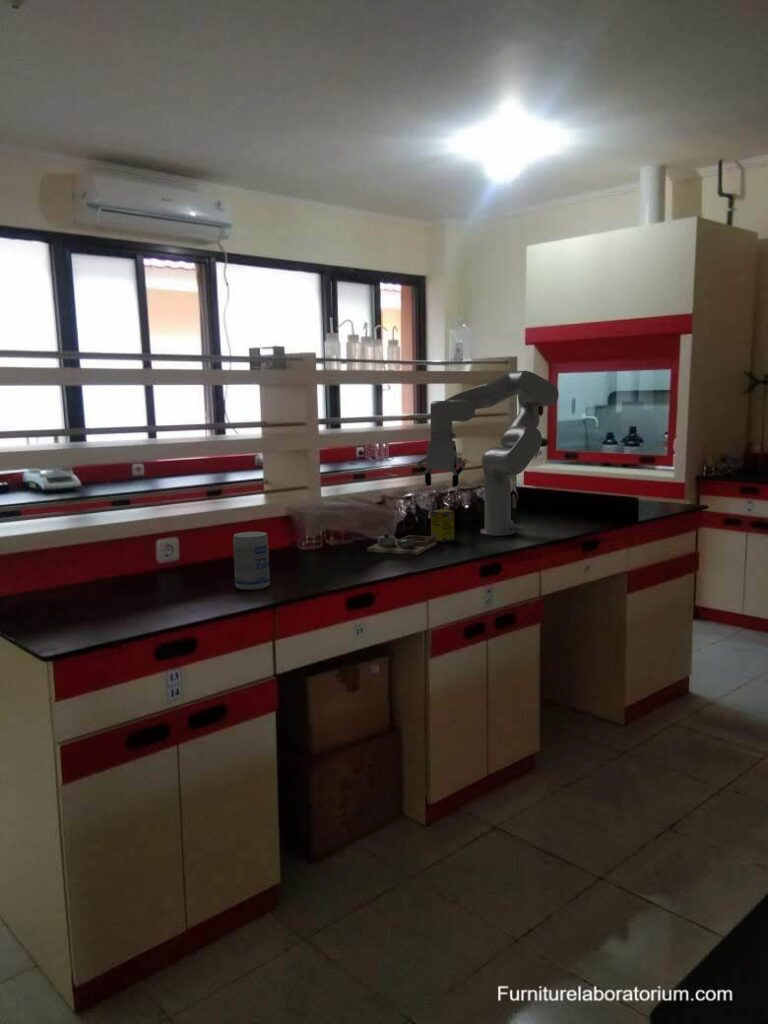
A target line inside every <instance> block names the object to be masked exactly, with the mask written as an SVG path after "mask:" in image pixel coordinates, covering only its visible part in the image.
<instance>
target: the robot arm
mask: <svg viewBox="0 0 768 1024" xmlns="http://www.w3.org/2000/svg"><path fill="white" fill-rule="evenodd" d="M513 396H517V401H518V409H519V410H518V413H517V415H516V417H515V419H514V420H513V421H512V422H511V424H510V425H509V426H508V427H507V428H506V430H505V431H504V433H503V434H502V436H501V439H500V443H501V446H502V447H501V446H500V447H498V446H494V447H490V448H487V449H486V450H485V451H484V453H483V454H482V457H481V466H482V472H483V479H484V480H483V481H484V528H481V529H480V534H482V535H486V536H496V537H497V536H511V535H514V534H515V533H516V530H518V531H519V530H522V529H523V525H522V524H521V523H514V521H513V519H512V517H511V515H512V514H511V511H512V509H511V503H512V496H511V495H512V493H511V492H512V489H511V488H512V487H511V486H512V485H511V480H510V477H509V476H517V475H519V474H521V473H522V472H524V470H525V469H526V468H527V467H528V465H530V463H531V462H532V460H534V457H535V456H536V455H537V453H538V452H539V451H540V449H541V447H542V443H543V436H542V433H541V431H540V430H539V429H538V427H539V423H540V414H539V408H538V407H551V406H553V405H555V404H556V403H557V401H558V399H559V397H560V396H559V389H558V387H557V386H556V384H554V383H553V382H552V381H549V380H548V379H545V378H544V377H542V376H540V375H538V374H537V373H534V372H532V371H529V370H516V371H515V370H514V371H508V372H506V373H505V372H504V373H503V374H502V375H500V376H497V377H494V378H493V379H491V380H489V381H488V382H486V383H483V384H480V385H478V386H475V387H473V388H470V389H467V390H464V391H462V392H458V393H456V394H454V395H452V396H450V397H449V398H446V399H445V400H433V401H432V402H431V403H430V406H429V407H430V409H429V411H430V413H429V414H430V440H429V441H428V443H427V450H426V451H427V452H426V457H425V458H423V459H421V460H419V461H417V465H418V467H419V469H420V471H421V472H422V473H423V475H424V482H425V485H426V487H429V486H431V485H432V474H431V472H432V471H434V470H435V471H437V470H441V471H443V470H444V471H450V472H451V473H452V474H453V475H452V479H451V480H452V486H451V487H452V488H455V487H458V485H459V475H460V474H461V473H462V472H463V470H464V468H465V467H466V465H467V463H466V461H464V460H462V459H460V458H458V453H457V451H458V450H457V445H456V441H455V440H453V439H454V438H457V433H454V431H453V422H468V421H470V420H472V419H473V418H474V416H475V414H476V410H480V409H481V410H482V409H486V408H487V409H488V408H491V407H494V406H497V405H499V404H501V403H502V402H504V401H507V399H509V398H511V397H513ZM424 463H426V467H425V465H424ZM458 465H460V466H459V468H457V467H458Z"/></svg>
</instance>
